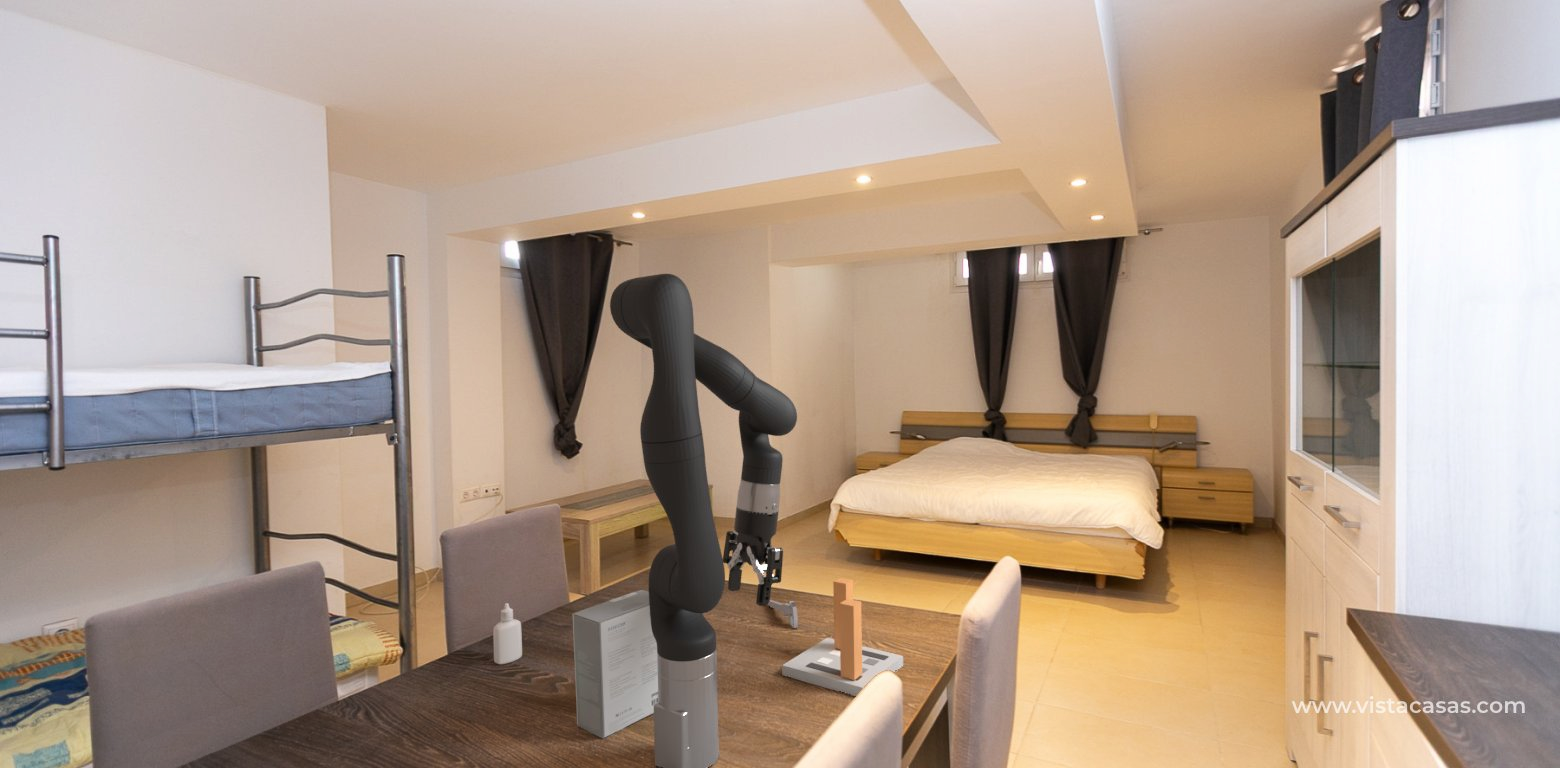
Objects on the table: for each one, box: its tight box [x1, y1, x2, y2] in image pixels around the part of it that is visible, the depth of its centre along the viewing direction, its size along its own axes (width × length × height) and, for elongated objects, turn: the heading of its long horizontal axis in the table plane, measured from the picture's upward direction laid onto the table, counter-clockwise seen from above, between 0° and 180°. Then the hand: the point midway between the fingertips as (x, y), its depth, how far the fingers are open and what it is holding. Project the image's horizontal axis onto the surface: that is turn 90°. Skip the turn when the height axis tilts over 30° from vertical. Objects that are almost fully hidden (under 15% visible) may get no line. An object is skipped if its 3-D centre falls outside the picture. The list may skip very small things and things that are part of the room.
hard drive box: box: [572, 589, 658, 739], centre depth 127 cm, size 16×8×20 cm, turn 141°
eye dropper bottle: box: [492, 602, 523, 665], centre depth 152 cm, size 4×6×12 cm
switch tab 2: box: [840, 599, 863, 680], centre depth 137 cm, size 3×3×14 cm
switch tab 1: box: [832, 577, 854, 649], centre depth 150 cm, size 3×3×14 cm
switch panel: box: [781, 637, 904, 697], centre depth 144 cm, size 17×18×2 cm
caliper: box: [768, 599, 799, 629], centre depth 176 cm, size 20×1×6 cm, turn 21°
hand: (747, 597), depth 128 cm, fingers open, 8 cm apart
